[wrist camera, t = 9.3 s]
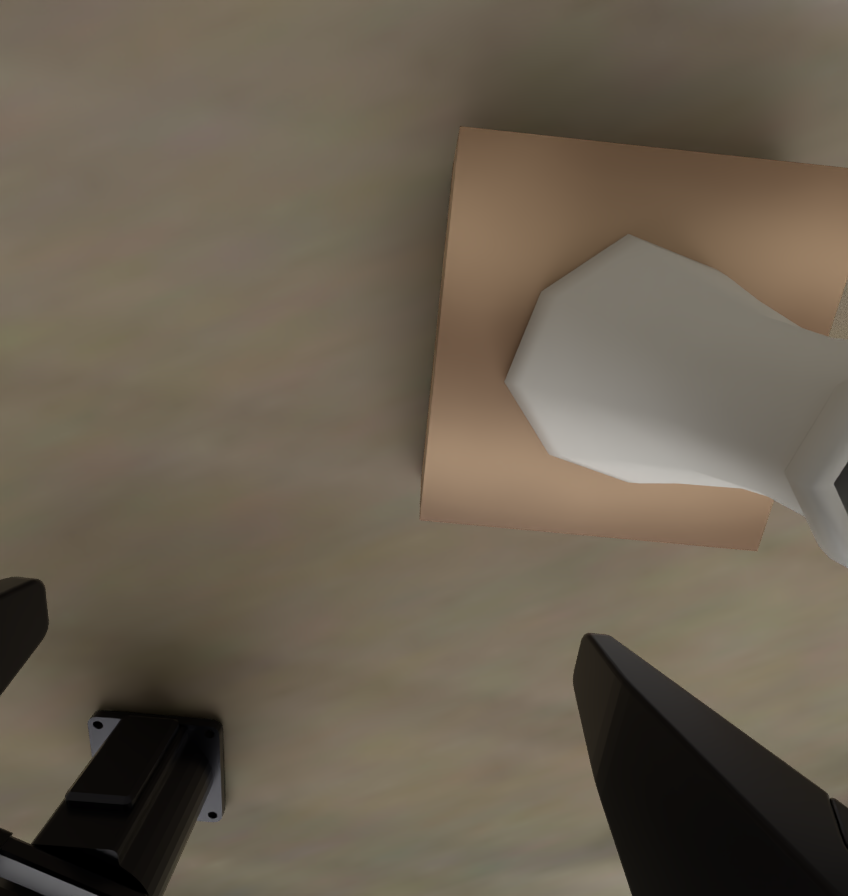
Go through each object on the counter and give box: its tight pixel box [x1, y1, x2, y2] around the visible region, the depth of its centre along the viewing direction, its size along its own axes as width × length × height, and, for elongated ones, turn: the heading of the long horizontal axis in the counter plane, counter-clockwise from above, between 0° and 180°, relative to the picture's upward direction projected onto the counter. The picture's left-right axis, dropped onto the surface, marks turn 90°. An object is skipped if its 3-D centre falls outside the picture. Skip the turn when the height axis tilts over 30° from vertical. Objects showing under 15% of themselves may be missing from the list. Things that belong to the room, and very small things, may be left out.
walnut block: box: [420, 126, 848, 551], centre depth 17 cm, size 12×12×4 cm
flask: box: [504, 234, 848, 568], centre depth 10 cm, size 7×7×10 cm
